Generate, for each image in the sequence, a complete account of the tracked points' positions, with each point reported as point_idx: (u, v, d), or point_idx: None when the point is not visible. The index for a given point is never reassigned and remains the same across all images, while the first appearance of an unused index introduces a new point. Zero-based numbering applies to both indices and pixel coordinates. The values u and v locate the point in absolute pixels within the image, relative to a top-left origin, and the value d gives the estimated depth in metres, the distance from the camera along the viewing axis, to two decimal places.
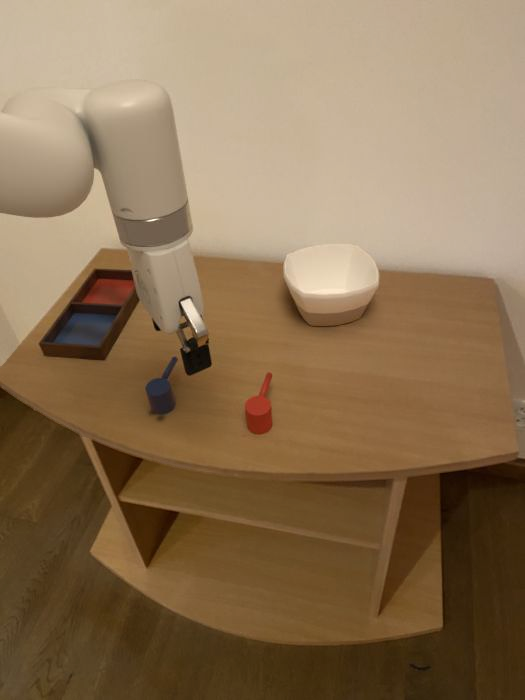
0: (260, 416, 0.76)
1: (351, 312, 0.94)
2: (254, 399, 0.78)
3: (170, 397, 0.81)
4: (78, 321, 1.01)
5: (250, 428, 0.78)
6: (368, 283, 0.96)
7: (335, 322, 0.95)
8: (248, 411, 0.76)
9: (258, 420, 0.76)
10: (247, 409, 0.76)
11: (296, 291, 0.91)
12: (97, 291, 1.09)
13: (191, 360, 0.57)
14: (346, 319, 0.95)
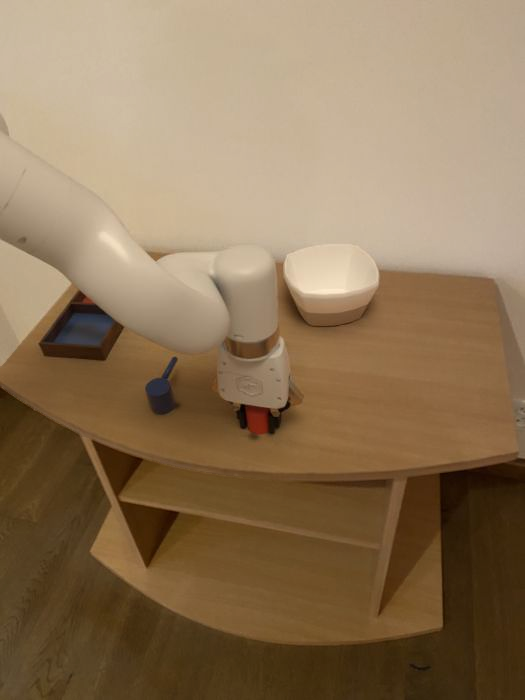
0: (260, 416, 0.76)
1: (351, 312, 0.94)
2: None
3: (170, 397, 0.81)
4: (78, 321, 1.01)
5: (250, 428, 0.78)
6: (368, 283, 0.96)
7: (335, 322, 0.95)
8: (248, 411, 0.76)
9: (258, 420, 0.76)
10: (247, 409, 0.76)
11: (296, 291, 0.91)
12: None
13: (275, 421, 0.77)
14: (346, 319, 0.95)
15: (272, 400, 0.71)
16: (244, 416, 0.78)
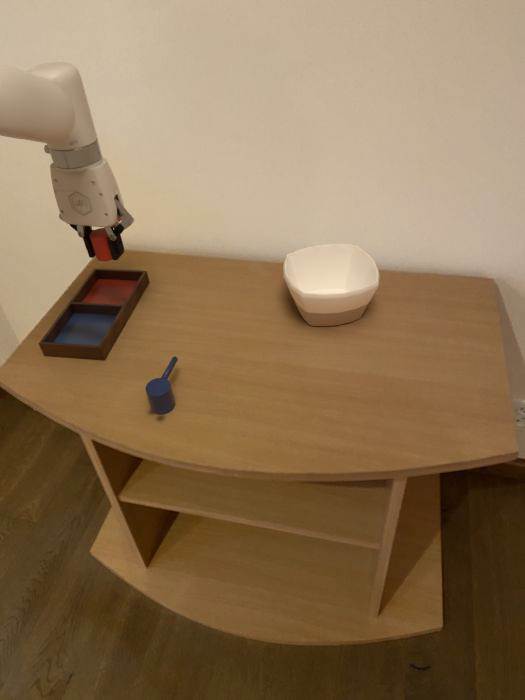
0: (100, 241, 0.87)
1: (351, 312, 0.94)
2: (99, 229, 0.90)
3: (170, 397, 0.81)
4: (78, 321, 1.01)
5: (96, 256, 0.90)
6: (368, 283, 0.96)
7: (335, 322, 0.95)
8: (91, 237, 0.88)
9: (100, 245, 0.88)
10: (90, 235, 0.88)
11: (296, 291, 0.91)
12: (97, 291, 1.09)
13: (116, 247, 0.89)
14: (346, 319, 0.95)
15: (101, 217, 0.83)
16: (90, 244, 0.90)
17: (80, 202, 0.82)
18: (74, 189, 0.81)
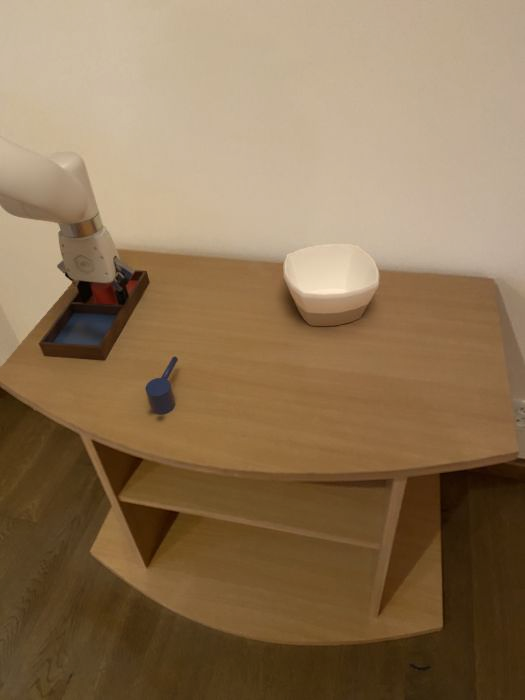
0: (101, 291, 1.01)
1: (351, 312, 0.94)
2: None
3: (170, 397, 0.81)
4: (78, 321, 1.01)
5: None
6: (368, 283, 0.96)
7: (335, 322, 0.95)
8: (92, 288, 1.02)
9: (100, 295, 1.02)
10: (92, 287, 1.02)
11: (296, 291, 0.91)
12: None
13: (122, 296, 1.02)
14: (346, 319, 0.95)
15: (102, 275, 0.97)
16: (83, 292, 1.03)
17: (84, 263, 0.96)
18: (79, 253, 0.94)
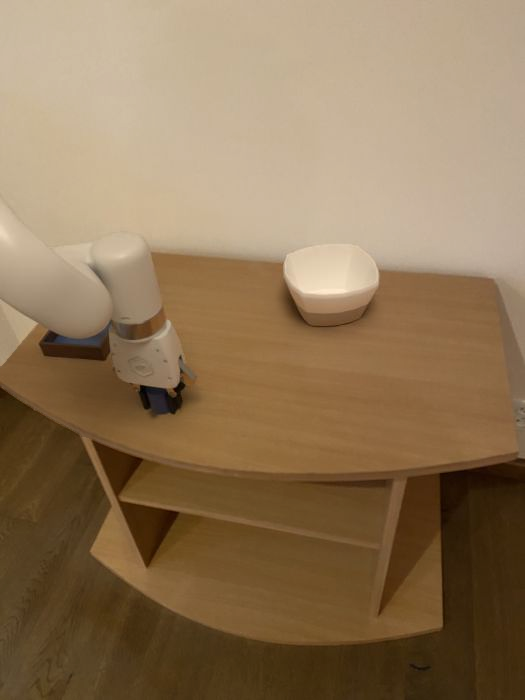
0: None
1: (351, 312, 0.94)
2: None
3: None
4: None
5: None
6: (368, 283, 0.96)
7: (335, 322, 0.95)
8: None
9: None
10: None
11: (296, 291, 0.91)
12: None
13: (174, 401, 0.81)
14: (346, 319, 0.95)
15: (163, 380, 0.75)
16: (146, 397, 0.82)
17: (141, 366, 0.74)
18: (135, 355, 0.73)
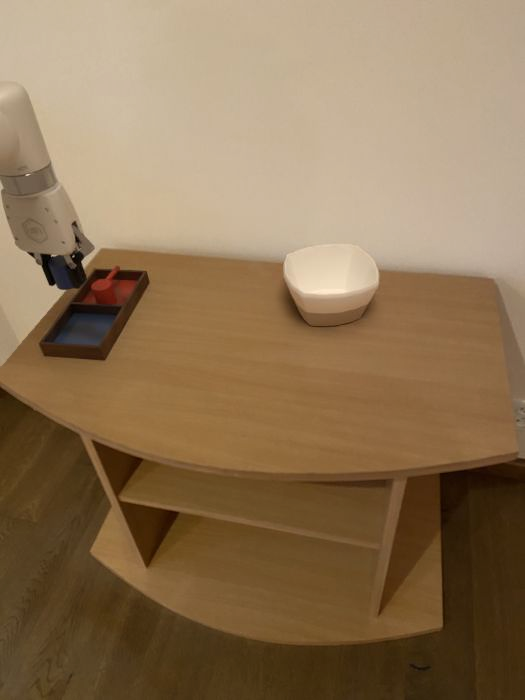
0: (101, 291, 1.01)
1: (351, 312, 0.94)
2: (100, 281, 1.03)
3: None
4: (78, 321, 1.01)
5: None
6: (368, 283, 0.96)
7: (335, 322, 0.95)
8: (92, 288, 1.02)
9: (100, 295, 1.02)
10: (92, 287, 1.02)
11: (296, 291, 0.91)
12: None
13: (76, 275, 0.83)
14: (346, 319, 0.95)
15: (58, 245, 0.77)
16: (49, 272, 0.84)
17: (35, 229, 0.76)
18: (27, 216, 0.75)
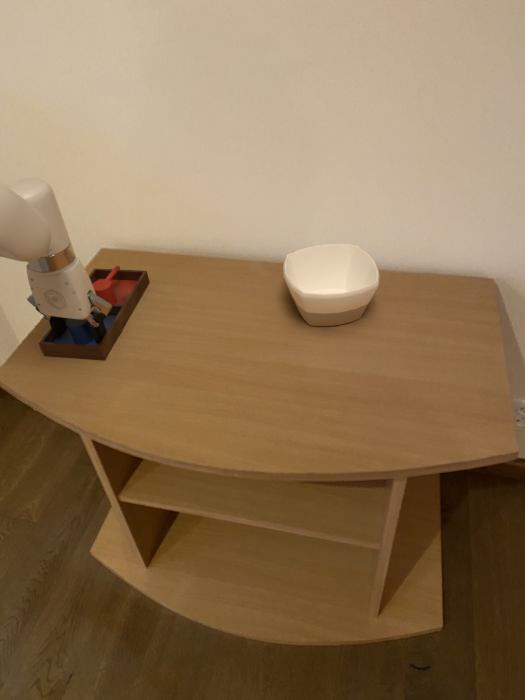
0: (101, 291, 1.01)
1: (351, 312, 0.94)
2: (100, 281, 1.03)
3: (87, 329, 0.95)
4: None
5: None
6: (368, 283, 0.96)
7: (335, 322, 0.95)
8: None
9: (100, 295, 1.02)
10: None
11: (296, 291, 0.91)
12: None
13: (98, 332, 0.93)
14: (346, 319, 0.95)
15: (75, 311, 0.88)
16: (56, 326, 0.95)
17: (55, 298, 0.87)
18: (49, 288, 0.86)
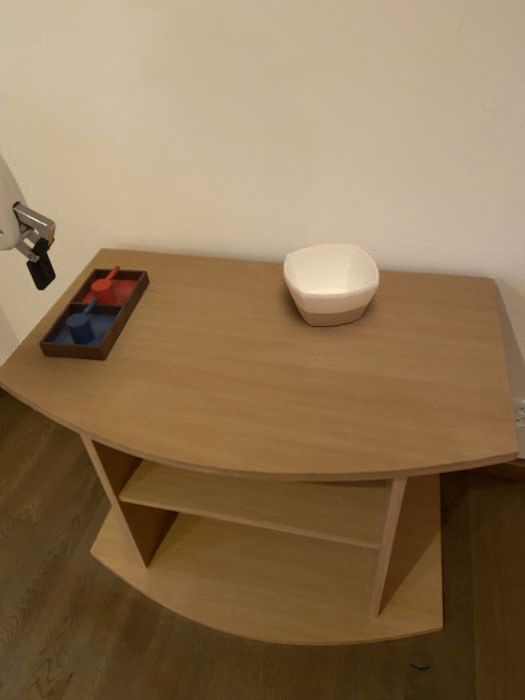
0: (101, 291, 1.01)
1: (351, 312, 0.94)
2: (100, 281, 1.03)
3: (87, 329, 0.95)
4: None
5: None
6: (368, 283, 0.96)
7: (335, 322, 0.95)
8: (92, 288, 1.02)
9: (100, 295, 1.02)
10: (92, 287, 1.02)
11: (296, 291, 0.91)
12: None
13: (40, 272, 0.59)
14: (346, 319, 0.95)
15: None
16: None
17: None
18: None
